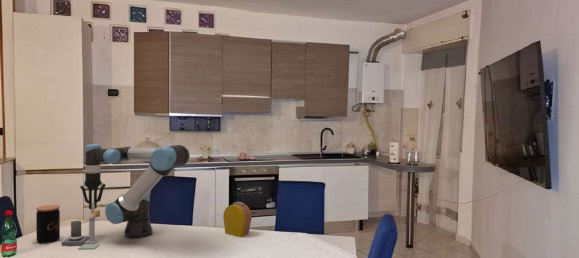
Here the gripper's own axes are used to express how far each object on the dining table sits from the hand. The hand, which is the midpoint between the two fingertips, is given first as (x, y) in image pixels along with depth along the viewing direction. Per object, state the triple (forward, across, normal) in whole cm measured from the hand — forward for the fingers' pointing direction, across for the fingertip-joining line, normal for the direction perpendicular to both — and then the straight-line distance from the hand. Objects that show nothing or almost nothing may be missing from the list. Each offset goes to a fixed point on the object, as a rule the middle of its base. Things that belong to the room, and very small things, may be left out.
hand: (92, 214), depth 217 cm
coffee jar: (+13, +20, -6) cm, 25 cm away
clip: (+2, 0, +5) cm, 5 cm away
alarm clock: (+12, -69, +40) cm, 81 cm away
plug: (+12, +9, +6) cm, 16 cm away
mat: (+12, +5, +17) cm, 22 cm away
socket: (+12, +7, +7) cm, 16 cm away
